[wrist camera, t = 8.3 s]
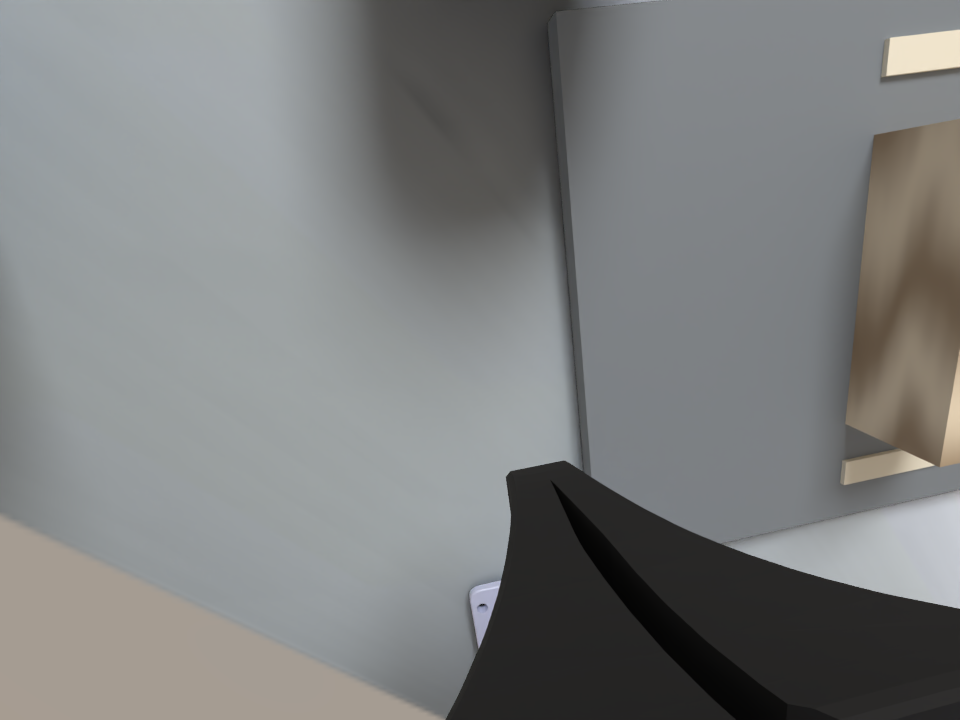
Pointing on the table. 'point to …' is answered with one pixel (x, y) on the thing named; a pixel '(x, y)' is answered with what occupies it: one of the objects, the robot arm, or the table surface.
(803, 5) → the board
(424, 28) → the table surface
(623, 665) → the robot arm
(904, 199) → the t block
